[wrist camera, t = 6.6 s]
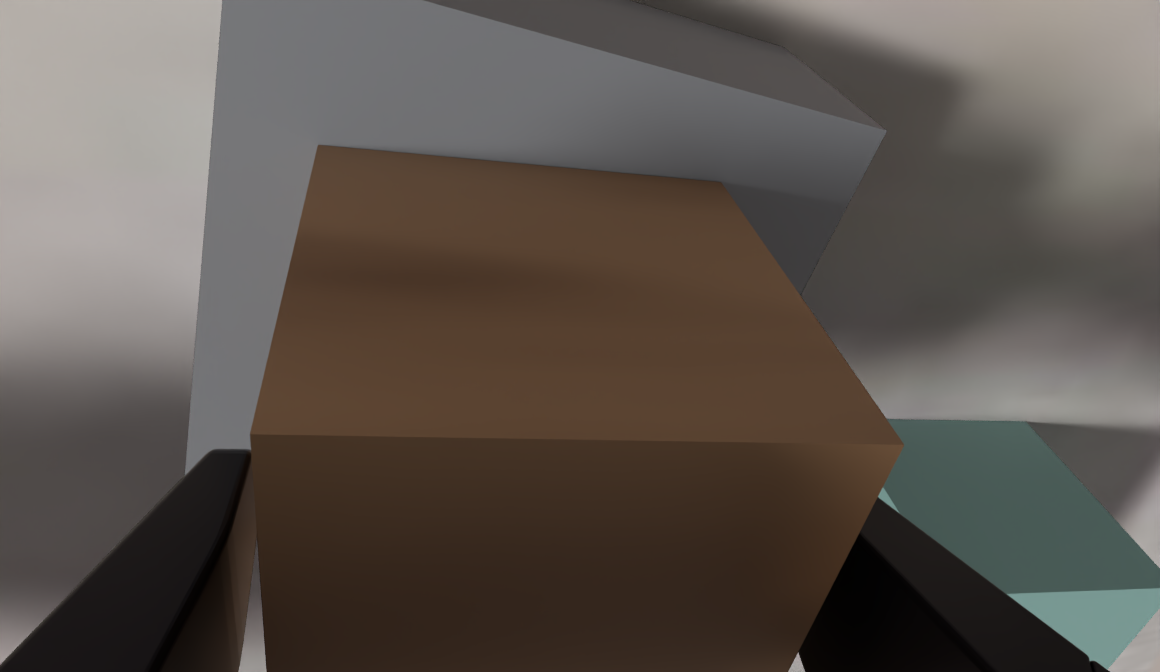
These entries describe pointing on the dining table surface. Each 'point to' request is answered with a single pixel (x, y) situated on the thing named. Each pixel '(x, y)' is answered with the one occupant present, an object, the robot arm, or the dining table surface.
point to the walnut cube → (547, 428)
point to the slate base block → (492, 135)
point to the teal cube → (1025, 528)
